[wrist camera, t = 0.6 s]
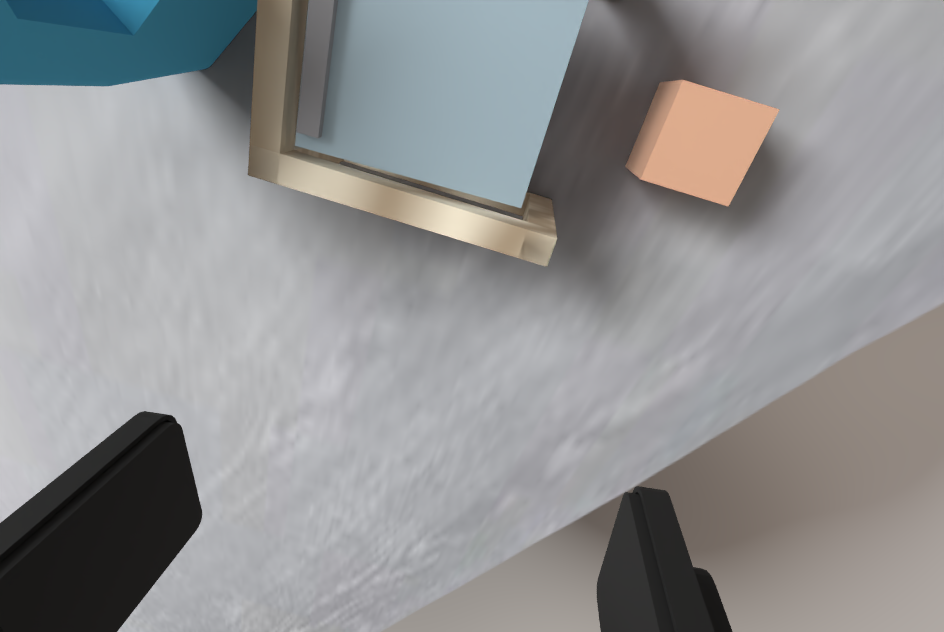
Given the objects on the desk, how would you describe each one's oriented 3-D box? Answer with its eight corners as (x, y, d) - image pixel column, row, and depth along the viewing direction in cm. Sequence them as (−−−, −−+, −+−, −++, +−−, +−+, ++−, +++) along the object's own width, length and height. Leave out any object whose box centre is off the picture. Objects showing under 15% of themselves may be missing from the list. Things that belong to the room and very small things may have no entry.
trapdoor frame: (633, -33, 25) (681, -97, 17) (544, 220, 32) (546, 266, 23) (359, -118, 25) (269, -225, 17) (325, 153, 32) (247, 175, 23)
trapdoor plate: (595, -31, 20) (603, -38, 19) (519, 204, 25) (522, 211, 24) (327, -125, 19) (317, -139, 17) (300, 143, 23) (290, 147, 22)
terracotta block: (740, 107, 28) (779, 109, 23) (699, 189, 30) (728, 206, 25) (659, 82, 28) (683, 79, 23) (624, 166, 30) (640, 179, 25)
